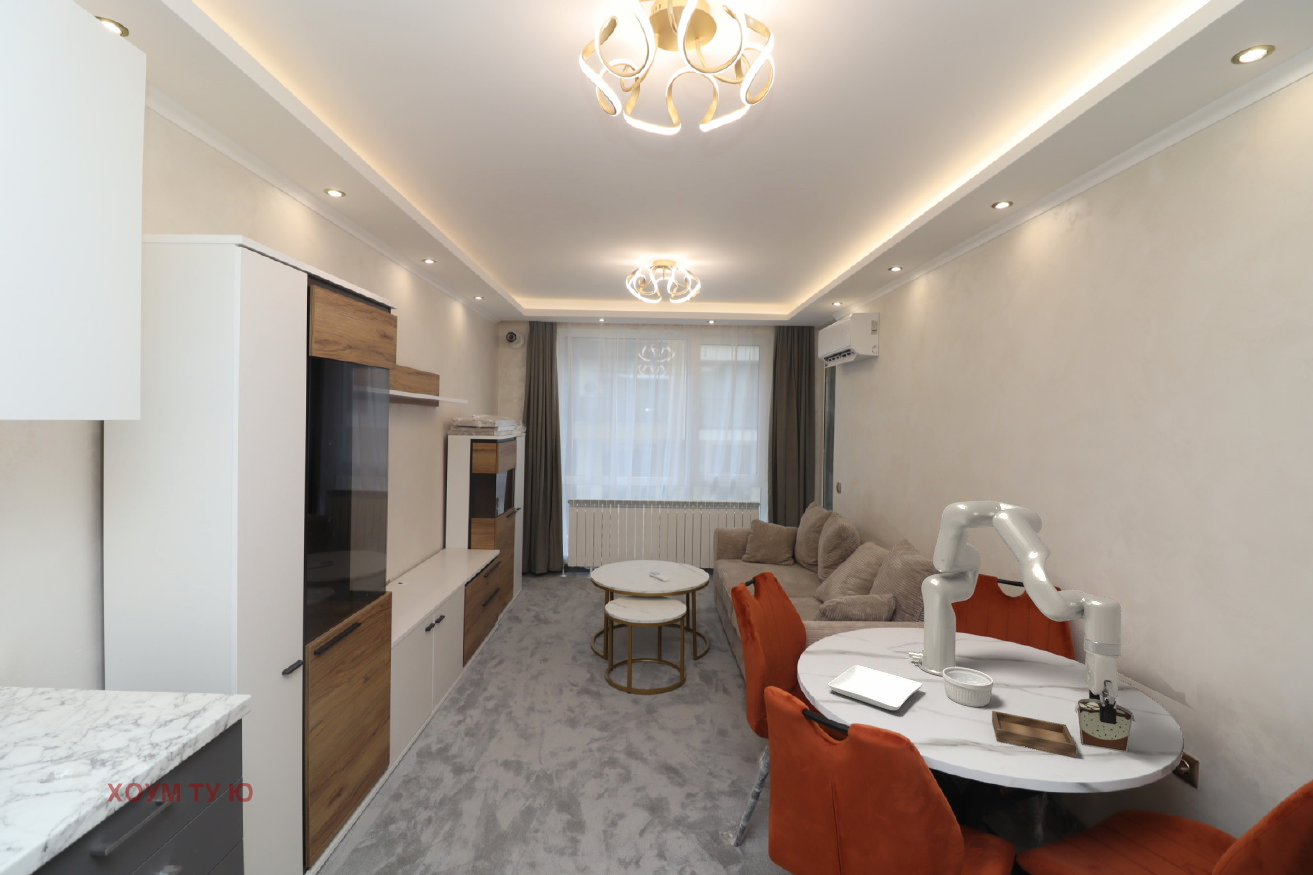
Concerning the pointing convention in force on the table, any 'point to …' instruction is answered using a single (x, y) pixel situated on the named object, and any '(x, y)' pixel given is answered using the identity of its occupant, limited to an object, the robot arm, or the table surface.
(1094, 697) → the robot arm
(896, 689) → the salad plate
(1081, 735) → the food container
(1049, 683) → the table surface
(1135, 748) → the table surface
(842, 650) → the table surface
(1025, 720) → the tray
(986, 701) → the ramekin
